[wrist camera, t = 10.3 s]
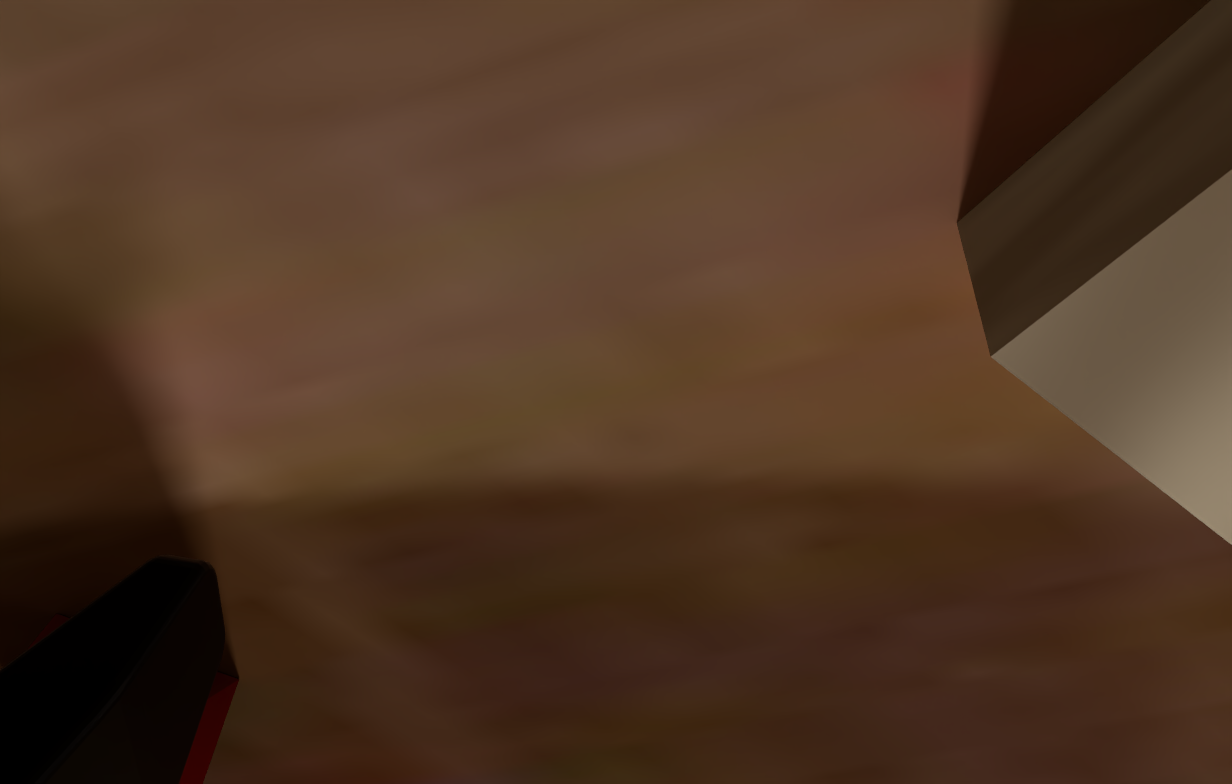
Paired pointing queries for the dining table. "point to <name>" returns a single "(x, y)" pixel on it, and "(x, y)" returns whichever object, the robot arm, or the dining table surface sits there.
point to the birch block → (1128, 268)
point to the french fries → (208, 724)
